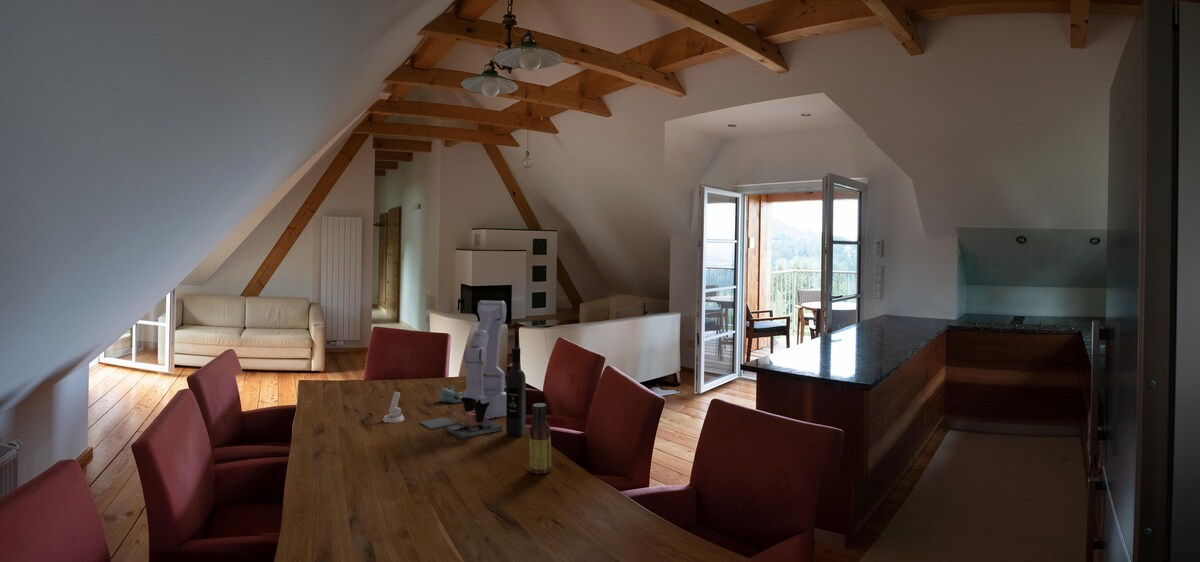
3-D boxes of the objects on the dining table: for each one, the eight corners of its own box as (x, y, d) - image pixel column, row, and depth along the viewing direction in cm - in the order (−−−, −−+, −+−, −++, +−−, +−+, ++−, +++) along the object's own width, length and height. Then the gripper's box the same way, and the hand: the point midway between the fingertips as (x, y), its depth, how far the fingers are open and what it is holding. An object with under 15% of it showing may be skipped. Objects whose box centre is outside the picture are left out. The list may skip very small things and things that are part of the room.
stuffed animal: (473, 389, 265) (444, 386, 260) (469, 406, 265) (440, 404, 260) (466, 384, 275) (438, 381, 270) (463, 400, 275) (435, 398, 269)
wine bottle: (520, 437, 219) (521, 350, 218) (505, 436, 221) (505, 349, 219) (526, 432, 225) (526, 347, 223) (510, 431, 226) (511, 346, 224)
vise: (487, 423, 235) (487, 408, 235) (502, 430, 227) (502, 415, 226) (444, 431, 225) (444, 415, 225) (458, 439, 217) (458, 423, 216)
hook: (409, 400, 247) (410, 393, 242) (402, 430, 241) (402, 424, 235) (389, 396, 246) (389, 390, 240) (381, 426, 239) (381, 420, 234)
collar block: (478, 420, 230) (478, 409, 229) (484, 424, 226) (484, 413, 225) (465, 423, 227) (465, 412, 226) (471, 426, 223) (471, 415, 222)
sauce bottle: (540, 465, 192) (540, 400, 191) (555, 470, 188) (556, 403, 187) (524, 471, 187) (524, 404, 186) (539, 477, 183) (540, 408, 182)
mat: (445, 418, 241) (445, 417, 241) (457, 425, 233) (457, 423, 233) (419, 423, 235) (419, 421, 235) (430, 429, 227) (430, 428, 227)
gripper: (455, 379, 228) (455, 416, 229) (474, 386, 217) (473, 426, 218) (473, 376, 233) (473, 413, 234) (492, 384, 221) (492, 422, 222)
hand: (474, 419), depth 226 cm, fingers open, 7 cm apart
